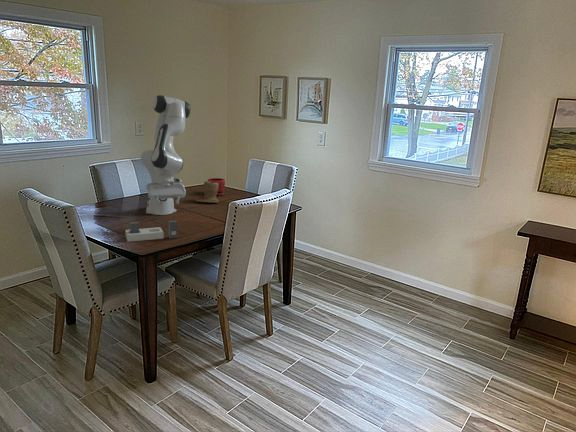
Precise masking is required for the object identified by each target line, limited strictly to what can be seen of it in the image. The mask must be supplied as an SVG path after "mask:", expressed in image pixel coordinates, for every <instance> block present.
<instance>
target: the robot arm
mask: <svg viewBox="0 0 576 432" xmlns="http://www.w3.org/2000/svg"><path fill="white" fill-rule="evenodd" d="M152 106H153V107H152V108H153V110H154V112H156V113H158V114H159V115H158V116H157V117H158V118H157V120H156V125H155V132H154V137H153V138H154V141H155V146H154V149H148V150H144V151H143V152H142V153H141V155H140V162H141V164H142V165H143V166H144V167H145V168H146V170H147V172H148V173H149V176H150V183H147V185H146V191H147V196H148V199H149V200H147V202H146V203H147V206H146V209H145V213H146V214H150V215H155V216H156V215H157V216H159V215H160V216H167V215H170V214H173V213H176V212H177V209H176V208H175V207H174V206H175V205H179V204H180V199H181V198H185V197H186V194H187V192H186V188H185V185H184V184H183V183H182V179H181V178H176V177H173V176H174V175H176V174H178V173H179V172H181V170H183V169H184V161H183V160H184V159H183V158H182V157H181V156H179V154H178V153H177V151H176V150H175V147H174V137H176V136H179V135H180V136H181V134H183V133H184V131H185V129H186V119H188V118H189V116H190V114H191V111H192V110H191V108H192V107H191V104H190V103H188V102H187V101H185V100H182V99H179V98H176V97H170V96H164V95H162V94H160V95H157V96H155V98H154V99H153V103H152ZM174 199H176V200H174ZM174 201H175V205H174Z"/></svg>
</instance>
